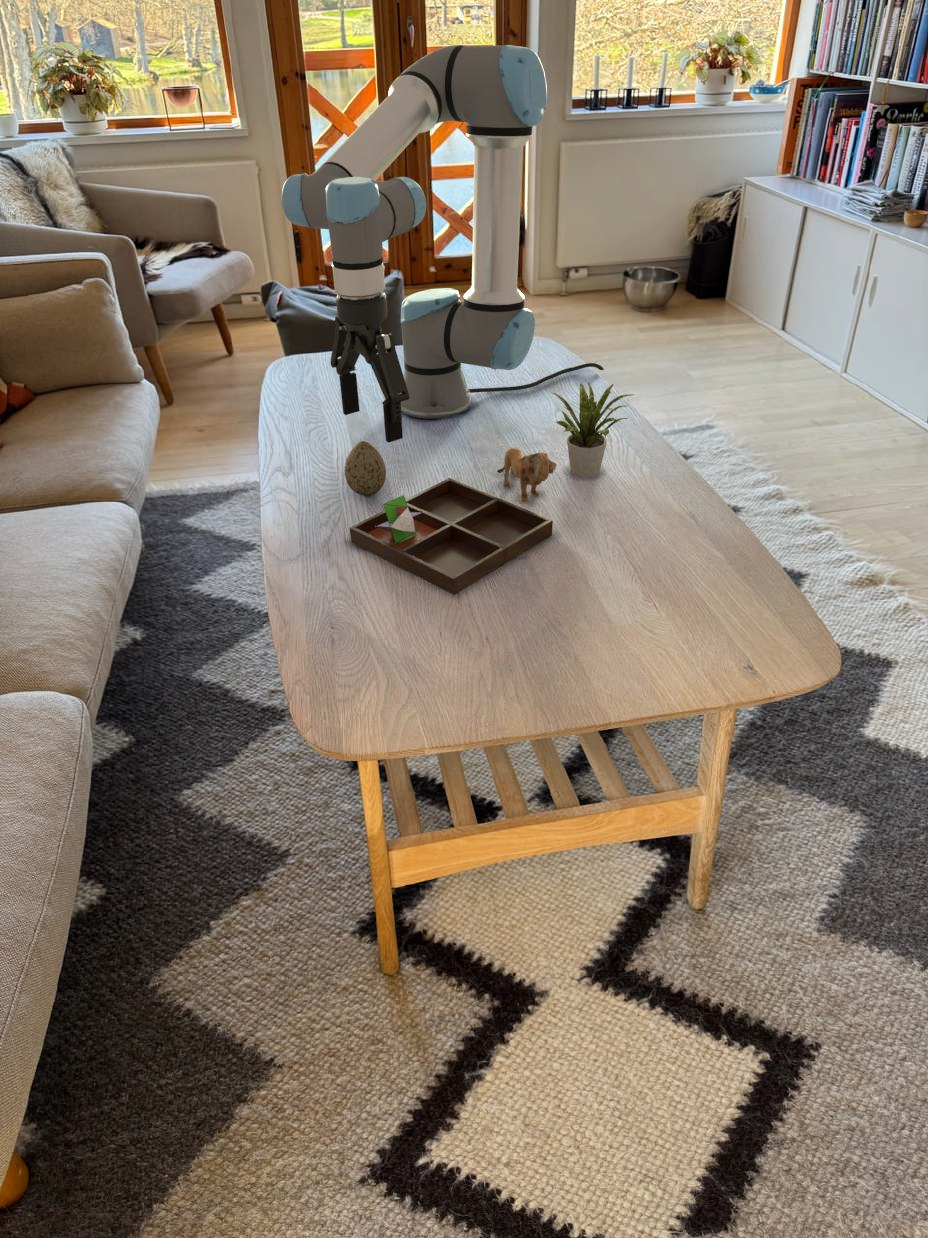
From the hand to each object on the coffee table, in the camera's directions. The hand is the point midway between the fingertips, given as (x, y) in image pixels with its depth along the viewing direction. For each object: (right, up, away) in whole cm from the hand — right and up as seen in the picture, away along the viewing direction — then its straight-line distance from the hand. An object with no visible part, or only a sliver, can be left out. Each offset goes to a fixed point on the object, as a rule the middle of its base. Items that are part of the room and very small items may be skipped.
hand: (372, 425), depth 153 cm
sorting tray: (+13, -18, 0) cm, 22 cm away
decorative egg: (-2, -10, +13) cm, 16 cm away
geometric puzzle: (+5, -18, -1) cm, 19 cm away
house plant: (+38, -5, +18) cm, 42 cm away
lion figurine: (+26, -9, +13) cm, 30 cm away
